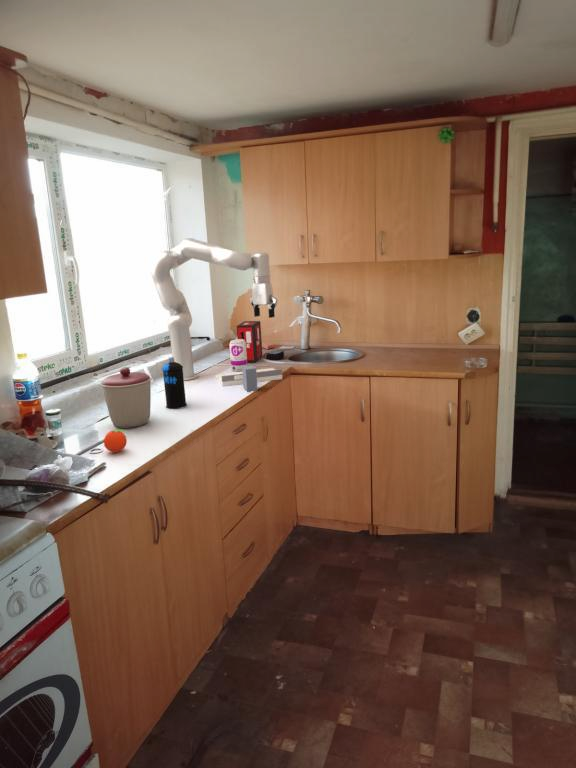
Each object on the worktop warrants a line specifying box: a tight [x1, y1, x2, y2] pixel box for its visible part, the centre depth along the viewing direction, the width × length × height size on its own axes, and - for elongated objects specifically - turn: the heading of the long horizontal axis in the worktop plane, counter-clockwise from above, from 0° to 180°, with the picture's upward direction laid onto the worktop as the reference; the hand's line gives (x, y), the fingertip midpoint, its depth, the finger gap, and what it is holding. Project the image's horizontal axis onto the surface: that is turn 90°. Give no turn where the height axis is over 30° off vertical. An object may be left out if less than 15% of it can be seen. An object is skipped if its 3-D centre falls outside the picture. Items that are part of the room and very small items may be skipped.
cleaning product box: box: [236, 320, 263, 364], centre depth 306 cm, size 16×9×20 cm, turn 170°
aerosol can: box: [161, 356, 188, 410], centre depth 225 cm, size 8×8×20 cm
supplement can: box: [228, 338, 248, 372], centre depth 284 cm, size 8×8×15 cm
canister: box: [99, 367, 153, 429], centre depth 205 cm, size 18×18×21 cm
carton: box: [241, 364, 258, 393], centre depth 245 cm, size 5×7×10 cm
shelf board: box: [215, 367, 283, 387], centre depth 265 cm, size 28×16×4 cm, turn 107°
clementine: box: [103, 429, 130, 453], centre depth 179 cm, size 8×7×7 cm
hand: (264, 316), depth 267 cm, fingers open, 9 cm apart
